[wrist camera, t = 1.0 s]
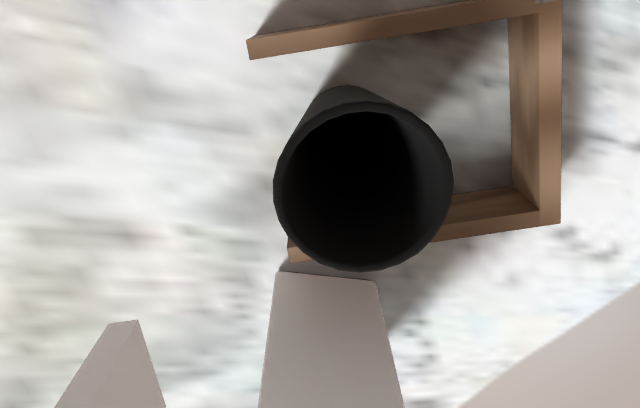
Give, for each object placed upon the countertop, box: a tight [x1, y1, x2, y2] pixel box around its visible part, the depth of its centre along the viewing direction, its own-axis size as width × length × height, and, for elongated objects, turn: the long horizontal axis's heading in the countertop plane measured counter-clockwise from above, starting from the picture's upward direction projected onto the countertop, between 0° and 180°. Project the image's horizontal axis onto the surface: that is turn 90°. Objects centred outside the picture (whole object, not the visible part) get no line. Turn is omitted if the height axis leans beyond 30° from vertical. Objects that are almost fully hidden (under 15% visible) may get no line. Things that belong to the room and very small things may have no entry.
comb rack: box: [246, 0, 562, 263], centre depth 29 cm, size 25×17×6 cm
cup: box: [273, 85, 454, 272], centre depth 28 cm, size 8×8×12 cm
